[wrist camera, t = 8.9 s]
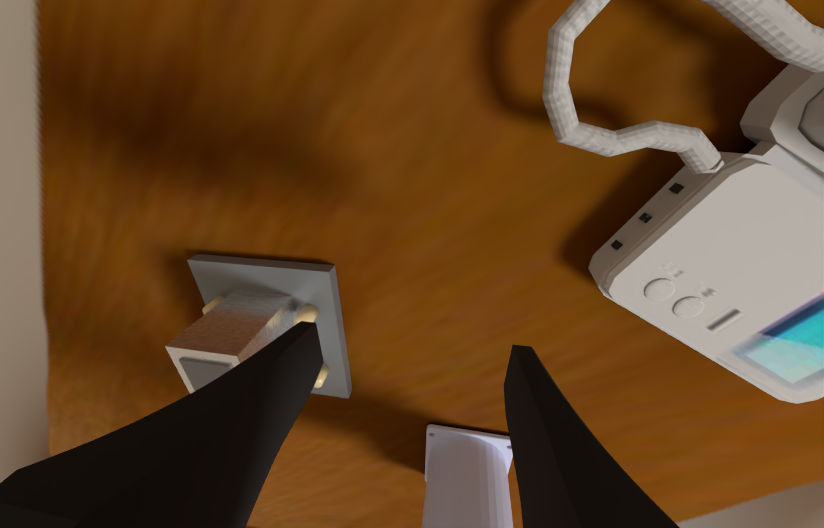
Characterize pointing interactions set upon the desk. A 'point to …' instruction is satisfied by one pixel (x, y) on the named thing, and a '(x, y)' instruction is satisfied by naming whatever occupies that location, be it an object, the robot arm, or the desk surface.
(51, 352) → the desk surface
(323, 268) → the tray
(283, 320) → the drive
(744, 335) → the intercom
